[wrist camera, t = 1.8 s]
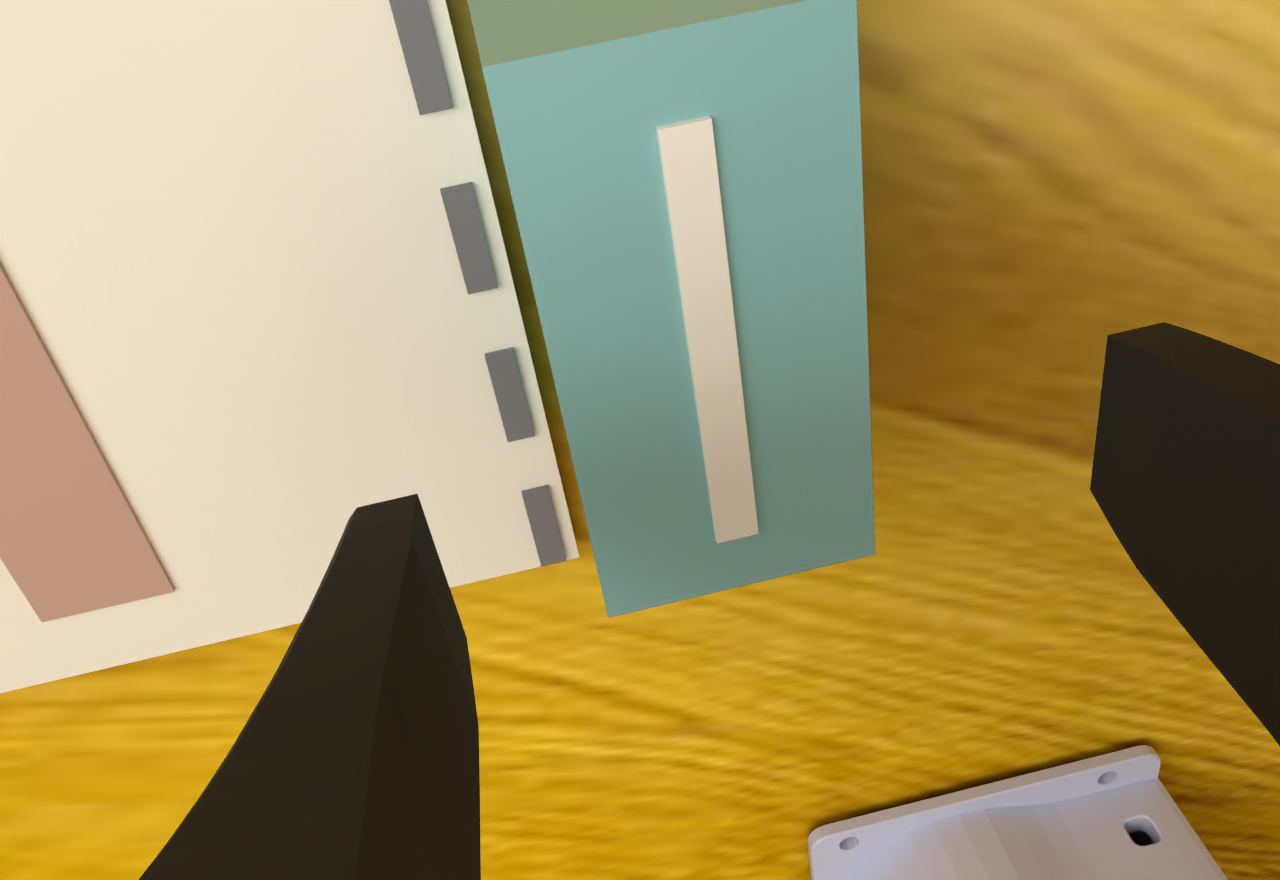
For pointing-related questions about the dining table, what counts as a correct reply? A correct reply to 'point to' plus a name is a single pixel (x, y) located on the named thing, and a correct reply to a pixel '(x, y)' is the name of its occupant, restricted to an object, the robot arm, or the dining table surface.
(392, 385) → the white card
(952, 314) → the dining table surface
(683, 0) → the teal rectangular block
